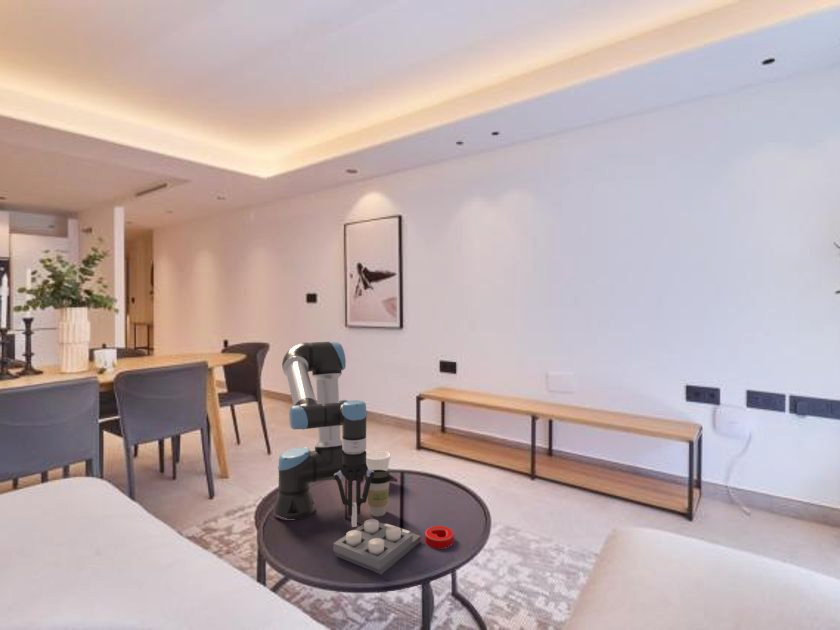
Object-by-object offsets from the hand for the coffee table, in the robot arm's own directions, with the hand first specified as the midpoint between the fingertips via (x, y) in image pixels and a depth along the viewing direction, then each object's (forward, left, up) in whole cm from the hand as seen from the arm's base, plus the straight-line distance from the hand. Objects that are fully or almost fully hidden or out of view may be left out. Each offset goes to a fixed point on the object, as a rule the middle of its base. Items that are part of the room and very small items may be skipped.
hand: (354, 524), depth 145 cm
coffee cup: (-12, +28, -10) cm, 32 cm away
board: (+4, +8, -10) cm, 13 cm away
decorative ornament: (+18, +23, -10) cm, 31 cm away
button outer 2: (+9, +9, -6) cm, 14 cm away
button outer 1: (+9, 0, -6) cm, 11 cm away
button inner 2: (0, +9, -6) cm, 11 cm away
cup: (-30, +51, -10) cm, 60 cm away
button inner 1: (0, 0, -6) cm, 6 cm away
